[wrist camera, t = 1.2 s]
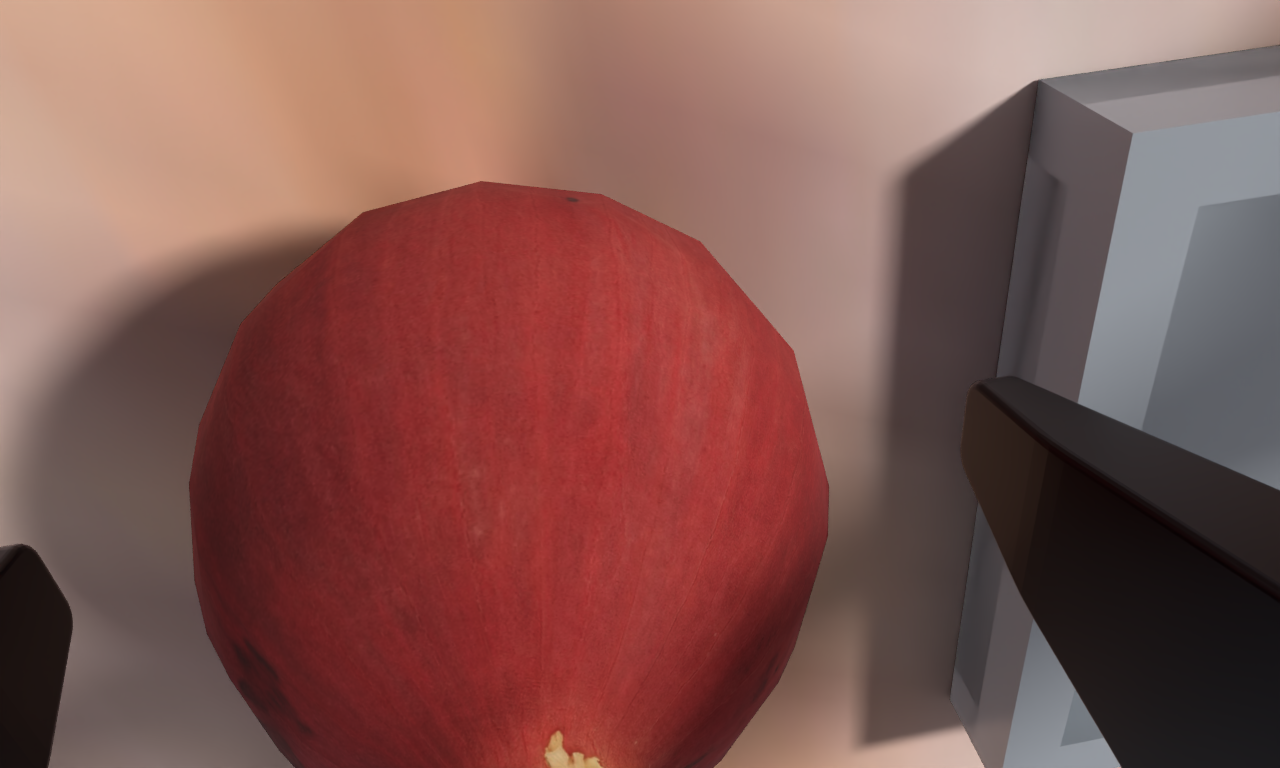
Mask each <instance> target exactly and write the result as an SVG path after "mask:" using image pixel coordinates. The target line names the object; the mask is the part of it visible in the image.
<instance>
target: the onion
mask: <svg viewBox="0 0 1280 768" xmlns="http://www.w3.org/2000/svg"><path fill="white" fill-rule="evenodd" d="M189 492H190V510H191V527H192V545H193V562H194V580H195V585H196V589H197V593H198V598H199V602H200V606H201V611H202V615H203V619H204V623H205V628H206V632H207V635H208V637H209V639H210V641H211V643H212V645H213V647H214V649H215V650H216V652H217V654H218V656H219V658H220V660H221V662H222V664H223V666H224V668H225V670H226V672H227V674H228V676H229V678H230V680H231V681H232V682H233V684H234V685H235V687H236V688H237V690H238V691H239V693H240V694H241V696H242V697H243V698H244V700H245V701H246V703H247V704H248V706H249V707H250V709H251V710H252V712H253V713H254V714H255V716H256V717H257V719H258V720H259V722H260V723H261V725H262V726H263V728H264V729H265V730H266V732H267V733H268V735H269V736H270V738H271V739H272V741H273V742H274V744H275V745H276V746H277V748H278V749H279V751H280V752H281V753H282V754H283V755H284V756H285V757H286V758H287V759H288V760H289V762H290V763H291V764H292V765H293V766H294V767H295V768H713V767H714V766H715V765H717V764H718V763H719V762H720V761H721V760H722V758H723V757H724V756H725V754H726V753H727V752H728V750H729V749H730V748H731V746H732V745H733V743H734V742H735V741H736V739H737V738H738V737H739V735H740V734H741V733H742V731H743V730H744V728H745V727H746V726H747V724H748V723H749V722H750V720H751V719H752V718H753V716H754V715H755V714H756V712H757V711H758V709H759V708H760V707H761V705H762V704H763V703H764V701H765V700H766V699H767V697H768V696H769V694H770V693H771V692H772V690H773V689H774V688H775V686H776V685H777V684H778V682H779V680H780V678H781V675H782V673H783V671H784V669H785V667H786V665H787V662H788V660H789V658H790V656H791V654H792V652H793V649H794V647H795V644H796V640H797V637H798V634H799V631H800V627H801V624H802V621H803V617H804V614H805V611H806V608H807V604H808V601H809V598H810V595H811V591H812V588H813V585H814V581H815V578H816V575H817V571H818V568H819V564H820V561H821V558H822V554H823V551H824V547H825V544H826V540H827V537H828V508H829V484H828V481H827V477H826V473H825V469H824V465H823V461H822V458H821V454H820V450H819V446H818V442H817V438H816V435H815V431H814V427H813V423H812V419H811V415H810V412H809V408H808V404H807V400H806V396H805V393H804V389H803V385H802V381H801V377H800V373H799V370H798V366H797V362H796V358H795V354H794V351H793V350H792V348H791V347H790V346H789V345H788V344H787V342H786V341H785V340H784V339H783V338H782V337H781V335H780V334H779V333H778V332H777V331H776V329H775V328H774V327H773V326H772V325H771V323H770V322H769V321H768V320H767V319H766V318H765V316H764V315H763V314H762V313H761V312H760V310H759V309H758V308H757V307H756V306H755V305H754V303H753V302H752V301H751V300H750V299H749V298H748V296H747V295H746V294H745V293H744V292H743V291H742V289H741V288H740V287H739V286H738V285H737V284H736V283H735V281H734V280H733V279H732V278H731V277H730V276H729V274H728V273H727V272H726V271H725V270H724V269H723V267H722V266H721V265H720V264H719V263H718V262H717V260H716V259H715V258H714V257H713V256H712V255H711V253H710V252H709V251H708V250H707V249H706V248H705V246H704V245H703V244H702V243H701V242H700V241H698V240H696V239H694V238H692V237H690V236H688V235H685V234H683V233H681V232H679V231H677V230H675V229H673V228H671V227H669V226H667V225H665V224H663V223H660V222H658V221H656V220H654V219H652V218H650V217H648V216H646V215H644V214H642V213H640V212H638V211H635V210H633V209H631V208H629V207H627V206H625V205H623V204H621V203H619V202H617V201H615V200H613V199H610V198H608V197H606V196H604V195H602V194H594V193H585V192H576V191H567V190H557V189H548V188H539V187H530V186H520V185H511V184H502V183H493V182H483V181H480V182H477V183H473V184H469V185H465V186H461V187H458V188H454V189H450V190H446V191H442V192H439V193H435V194H431V195H427V196H423V197H420V198H416V199H412V200H408V201H404V202H401V203H397V204H393V205H389V206H385V207H382V208H378V209H374V210H370V211H366V212H363V213H362V214H360V215H359V216H358V217H357V218H356V219H354V220H353V221H352V222H351V223H350V224H348V225H347V226H346V227H345V228H344V229H342V230H341V231H340V232H339V233H338V234H336V235H335V236H334V237H333V238H332V239H330V240H329V241H328V242H327V243H326V244H324V245H323V246H322V247H321V248H320V249H318V250H317V251H316V252H315V253H314V254H312V255H311V256H310V257H309V258H308V259H306V260H305V261H304V262H303V263H302V264H300V265H299V266H298V267H297V268H296V269H294V270H293V271H292V272H291V273H290V274H288V275H287V276H286V277H285V278H284V279H282V280H281V281H280V282H279V283H278V284H276V285H275V286H274V288H273V289H272V290H271V291H270V292H269V293H268V294H267V295H266V296H265V297H264V299H263V300H262V301H261V302H260V303H259V304H258V305H257V306H256V307H255V308H254V310H253V311H252V312H251V313H250V314H249V315H248V316H247V317H246V318H245V319H244V321H243V322H242V323H241V324H240V326H239V329H238V331H237V334H236V336H235V339H234V341H233V344H232V346H231V348H230V351H229V353H228V356H227V358H226V361H225V363H224V366H223V368H222V370H221V373H220V375H219V378H218V380H217V383H216V385H215V388H214V390H213V392H212V395H211V397H210V400H209V402H208V405H207V407H206V410H205V412H204V414H203V417H202V419H201V422H200V424H199V429H198V435H197V441H196V446H195V452H194V458H193V464H192V470H191V476H190V481H189Z"/></svg>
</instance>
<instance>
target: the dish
mask: <svg viewBox="0 0 1280 768" xmlns="http://www.w3.org/2000/svg"><path fill="white" fill-rule="evenodd" d="M1003 376H1015V377H1018V378H1020V379H1023V380H1025V381H1027V382H1030V383H1032V384H1034V385H1037V386H1039V387H1041V388H1044V389H1046V390H1048V391H1051V392H1053V393H1055V394H1058V395H1060V396H1062V397H1065V398H1067V399H1069V400H1071V401H1074V402H1076V403H1078V404H1081V405H1083V406H1085V407H1088V408H1090V409H1092V410H1095V411H1097V412H1099V413H1102V414H1104V415H1106V416H1109V417H1111V418H1113V419H1116V420H1118V421H1120V422H1123V423H1125V424H1127V425H1130V426H1132V427H1134V428H1137V429H1139V430H1141V431H1143V432H1146V433H1148V434H1150V435H1153V436H1155V437H1157V438H1160V439H1162V440H1164V441H1167V442H1169V443H1171V444H1174V445H1176V446H1178V447H1181V448H1183V449H1185V450H1188V451H1190V452H1192V453H1195V454H1197V455H1199V456H1202V457H1204V458H1206V459H1209V460H1211V461H1213V462H1215V463H1218V464H1220V465H1222V466H1225V467H1227V468H1229V469H1232V470H1234V471H1236V472H1239V473H1241V474H1243V475H1246V476H1248V477H1250V478H1253V479H1255V480H1257V481H1260V482H1262V483H1264V484H1267V485H1269V486H1271V487H1274V488H1276V489H1278V490H1280V45H1277V46H1270V47H1263V48H1256V49H1249V50H1242V51H1235V52H1228V53H1221V54H1214V55H1207V56H1200V57H1193V58H1186V59H1179V60H1172V61H1165V62H1159V63H1152V64H1145V65H1138V66H1131V67H1124V68H1117V69H1110V70H1103V71H1096V72H1089V73H1082V74H1075V75H1068V76H1061V77H1054V78H1047V79H1041V80H1039V83H1038V90H1037V97H1036V104H1035V111H1034V118H1033V125H1032V132H1031V139H1030V146H1029V152H1028V159H1027V166H1026V173H1025V180H1024V187H1023V194H1022V201H1021V208H1020V215H1019V222H1018V229H1017V236H1016V243H1015V250H1014V257H1013V264H1012V271H1011V278H1010V284H1009V291H1008V298H1007V305H1006V312H1005V319H1004V326H1003V333H1002V340H1001V347H1000V354H999V361H998V368H997V375H996V378H997V377H1003ZM950 701H951V703H952V705H953V707H954V709H955V711H956V713H957V715H958V717H959V718H960V720H961V722H962V724H963V726H964V728H965V730H966V732H967V734H968V736H969V738H970V740H971V742H972V744H973V745H974V747H975V749H976V751H977V753H978V755H979V757H980V759H981V761H982V763H983V765H984V767H985V768H1117V767H1121V766H1120V764H1119V763H1118V761H1117V759H1116V758H1115V756H1114V754H1113V752H1112V751H1111V749H1110V747H1109V746H1108V744H1107V742H1106V741H1105V739H1104V737H1103V736H1102V734H1101V732H1100V730H1099V729H1098V727H1097V725H1096V724H1095V722H1094V720H1093V719H1092V717H1091V715H1090V714H1089V712H1088V710H1087V708H1086V707H1085V705H1084V703H1083V702H1082V700H1081V698H1080V697H1079V695H1078V693H1077V692H1076V690H1075V688H1074V686H1073V685H1072V683H1071V681H1070V680H1069V678H1068V676H1067V675H1066V673H1065V671H1064V670H1063V668H1062V666H1061V664H1060V663H1059V661H1058V659H1057V658H1056V656H1055V654H1054V653H1053V651H1052V649H1051V648H1050V646H1049V644H1048V642H1047V641H1046V639H1045V637H1044V636H1043V634H1042V632H1041V631H1040V629H1039V627H1038V626H1037V624H1036V622H1035V620H1034V619H1033V617H1032V615H1031V614H1030V612H1029V610H1028V608H1027V606H1026V605H1025V603H1024V601H1023V599H1022V597H1021V595H1020V593H1019V591H1018V589H1017V587H1016V585H1015V583H1014V581H1013V579H1012V577H1011V575H1010V572H1009V570H1008V568H1007V566H1006V563H1005V561H1004V559H1003V557H1002V554H1001V552H1000V550H999V548H998V545H997V543H996V541H995V538H994V536H993V534H992V532H991V529H990V527H989V525H988V523H987V520H986V518H985V516H984V514H983V511H982V509H981V507H980V505H979V502H978V507H977V514H976V521H975V528H974V535H973V542H972V548H971V555H970V562H969V569H968V576H967V583H966V590H965V597H964V604H963V611H962V618H961V625H960V632H959V639H958V646H957V653H956V660H955V667H954V674H953V680H952V687H951V694H950Z"/></svg>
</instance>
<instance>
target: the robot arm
mask: <svg viewBox="0 0 1280 768" xmlns="http://www.w3.org/2000/svg"><path fill="white" fill-rule="evenodd" d="M960 451H961V460H962V464H963V468H964V471H965V473H966V475H967V478H968V480H969V482H970V484H971V487H972V489H973V491H974V493H975V496H976V498H977V500H978V502H979V505H980V507H981V509H982V511H983V514H984V516H985V518H986V520H987V523H988V525H989V527H990V529H991V532H992V534H993V536H994V538H995V541H996V543H997V545H998V548H999V550H1000V552H1001V554H1002V557H1003V559H1004V561H1005V563H1006V566H1007V568H1008V570H1009V572H1010V575H1011V577H1012V579H1013V581H1014V583H1015V585H1016V587H1017V589H1018V591H1019V593H1020V595H1021V597H1022V599H1023V601H1024V603H1025V605H1026V606H1027V608H1028V610H1029V612H1030V614H1031V615H1032V617H1033V619H1034V620H1035V622H1036V624H1037V626H1038V627H1039V629H1040V631H1041V632H1042V634H1043V636H1044V637H1045V639H1046V641H1047V642H1048V644H1049V646H1050V648H1051V649H1052V651H1053V653H1054V654H1055V656H1056V658H1057V659H1058V661H1059V663H1060V664H1061V666H1062V668H1063V670H1064V671H1065V673H1066V675H1067V676H1068V678H1069V680H1070V681H1071V683H1072V685H1073V686H1074V688H1075V690H1076V692H1077V693H1078V695H1079V697H1080V698H1081V700H1082V702H1083V703H1084V705H1085V707H1086V708H1087V710H1088V712H1089V714H1090V715H1091V717H1092V719H1093V720H1094V722H1095V724H1096V725H1097V727H1098V729H1099V730H1100V732H1101V734H1102V736H1103V737H1104V739H1105V741H1106V742H1107V744H1108V746H1109V747H1110V749H1111V751H1112V752H1113V754H1114V756H1115V758H1116V759H1117V761H1118V763H1119V764H1120V766H1121V768H1280V490H1278V489H1276V488H1274V487H1271V486H1269V485H1267V484H1264V483H1262V482H1260V481H1257V480H1255V479H1253V478H1250V477H1248V476H1246V475H1243V474H1241V473H1239V472H1236V471H1234V470H1232V469H1229V468H1227V467H1225V466H1222V465H1220V464H1218V463H1215V462H1213V461H1211V460H1209V459H1206V458H1204V457H1202V456H1199V455H1197V454H1195V453H1192V452H1190V451H1188V450H1185V449H1183V448H1181V447H1178V446H1176V445H1174V444H1171V443H1169V442H1167V441H1164V440H1162V439H1160V438H1157V437H1155V436H1153V435H1150V434H1148V433H1146V432H1143V431H1141V430H1139V429H1137V428H1134V427H1132V426H1130V425H1127V424H1125V423H1123V422H1120V421H1118V420H1116V419H1113V418H1111V417H1109V416H1106V415H1104V414H1102V413H1099V412H1097V411H1095V410H1092V409H1090V408H1088V407H1085V406H1083V405H1081V404H1078V403H1076V402H1074V401H1071V400H1069V399H1067V398H1065V397H1062V396H1060V395H1058V394H1055V393H1053V392H1051V391H1048V390H1046V389H1044V388H1041V387H1039V386H1037V385H1034V384H1032V383H1030V382H1027V381H1025V380H1023V379H1020V378H1018V377H1015V376H1003V377H997V378H991V379H985V380H979V381H976V382H975V383H973V384H972V385H971V386H970V388H969V390H968V393H967V398H966V406H965V414H964V422H963V430H962V438H961V448H960ZM72 629H73V619H72V612H71V609H70V606H69V604H68V602H67V600H66V598H65V597H64V595H63V593H62V592H61V590H60V588H59V587H58V585H57V584H56V582H55V580H54V579H53V577H52V575H51V574H50V572H49V571H48V569H47V567H46V566H45V564H44V562H43V561H42V559H41V557H40V556H39V555H38V553H37V552H36V551H35V550H34V549H33V548H32V547H30V546H28V545H24V544H15V545H9V546H3V547H0V768H48V765H49V760H50V756H51V750H52V744H53V739H54V733H55V727H56V722H57V716H58V710H59V705H60V699H61V693H62V687H63V682H64V676H65V670H66V665H67V659H68V653H69V647H70V642H71V636H72Z"/></svg>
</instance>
